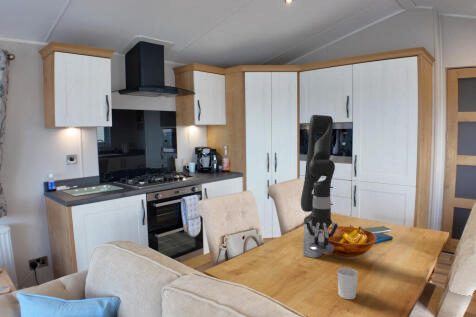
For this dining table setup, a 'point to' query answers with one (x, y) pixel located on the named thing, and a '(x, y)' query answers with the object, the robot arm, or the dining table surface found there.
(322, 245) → the lid
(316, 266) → the dining table surface
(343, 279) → the white cup
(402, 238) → the dining table surface
